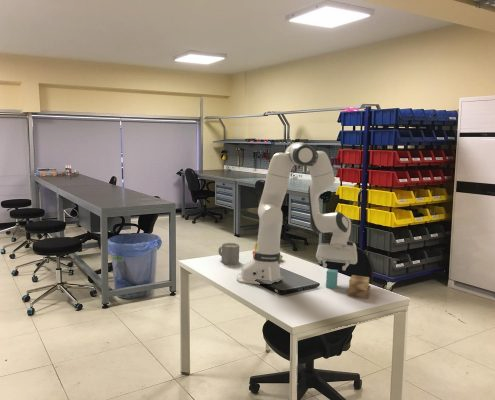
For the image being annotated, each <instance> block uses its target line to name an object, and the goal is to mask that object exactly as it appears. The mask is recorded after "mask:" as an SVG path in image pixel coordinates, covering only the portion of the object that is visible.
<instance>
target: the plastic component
mask: <svg viewBox="0 0 495 400" xmlns="http://www.w3.org/2000/svg"><path fill="white" fill-rule="evenodd" d="M254 250H255V251H257V250H258V242H255V243H254ZM254 250H253V251H254ZM280 255H281V257H280V261H282V259H283V255H282V254H280Z"/></svg>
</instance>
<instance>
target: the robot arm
mask: <svg viewBox="0 0 495 400" xmlns="http://www.w3.org/2000/svg"><path fill="white" fill-rule="evenodd" d="M294 166H301V167H307V168H308V170H309V173H310V177H311V183H310V185H309V186H308V190H307V192H308V207H309V226H310V229H311V231H313V232H314V233H315V234H316V235H321V234H325V233H332V236H331V238H330V243H324V242H321V243H319V244H318V245H317V251H316V252H315V258H316V259H317V260H318V261H321V262H322V264H323V265H322V268H323V269H327V266H328V264H327V263H326V262H331V263H333V262H334V263H340V264H341V263H342V264H345V265H342V268H341V269H342V270H341V271H346V269H347V268H348V267H349V266H350V265H356V264H357V263H358V251H357V245H356V243H355V242H353V241H350V240H349V239H350V238H349V237H350V235H351V232H352V231H351V230H352V222H351V219H350V218H349V217H348V216H346V215H345V214H344V213H343V212H339V211H336V212H329V213H321V212H320V201H319V197H320V195H321V194H323V193H325V192H327V191H328V190H329V189H330V188H332V187H333V185H334V183H335V174H334V173H335V172H334V169H333V166H332V162H331V160H330V158H329V156H328V154H327V153H326V152H325V151H323V150H316V149H314V148H313V147H312V146H311V145H310V144H308V143H305V142H302V141H298V142H297V141H296V142H295V141H294V142H292V143H290V144H289V145H288V146H287V147H285V149H284V151H283V152H276V153H275V154H273V156H272V158H271V159H270V162H269V165H268V169H267V172H266V175H265V176H266V178H265V182H264V187H263V190H262V194H261V197H260V200H259V204H258V208H257V215H258V219H259V220H258V221H259V222H258V223H259V225H258V232H257V233H258V234H257V243H258V250H257V251H255V250H253V251H252V259H251V260H249V261H248V262H246V263H245V264H244V265H243V266H242V268H241V272H240V273H238V274H237V275H236V281H237V282H238V283H240V284H241V283H242V284H243V283H244V284H250V285H251V284H253V285H260V283H259V282H257V281H255V280H256V279H262V280H270V281H273V280H277V279H279V278H281V279H282V276H281V274H282V273H281V267H280V266H281V265H280V264H281V260H280V257H281V255H282V254H281V252H280V250H281V234H282V225H283V217H284V215H283V211H282V205H283V202H284V200H285V196H286V194H287V190H288V185H289V180H290V176H291V171H292V169H293V168H294Z"/></svg>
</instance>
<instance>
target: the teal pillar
mask: <svg viewBox="0 0 495 400" xmlns="http://www.w3.org/2000/svg"><path fill="white" fill-rule="evenodd" d="M338 277H339V270H338V269H333V268H327V270H326V281H325V288H327V289H336V288H337V287H338Z"/></svg>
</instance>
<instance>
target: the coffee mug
mask: <svg viewBox="0 0 495 400" xmlns="http://www.w3.org/2000/svg"><path fill="white" fill-rule="evenodd" d="M217 251H218V255H219V256H220V257H221V259H220V260H221V264H224V265H237V264H239V263H240V244H239V243H235V242H225V243H222V244H221V246H219V247H218V250H217Z"/></svg>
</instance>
